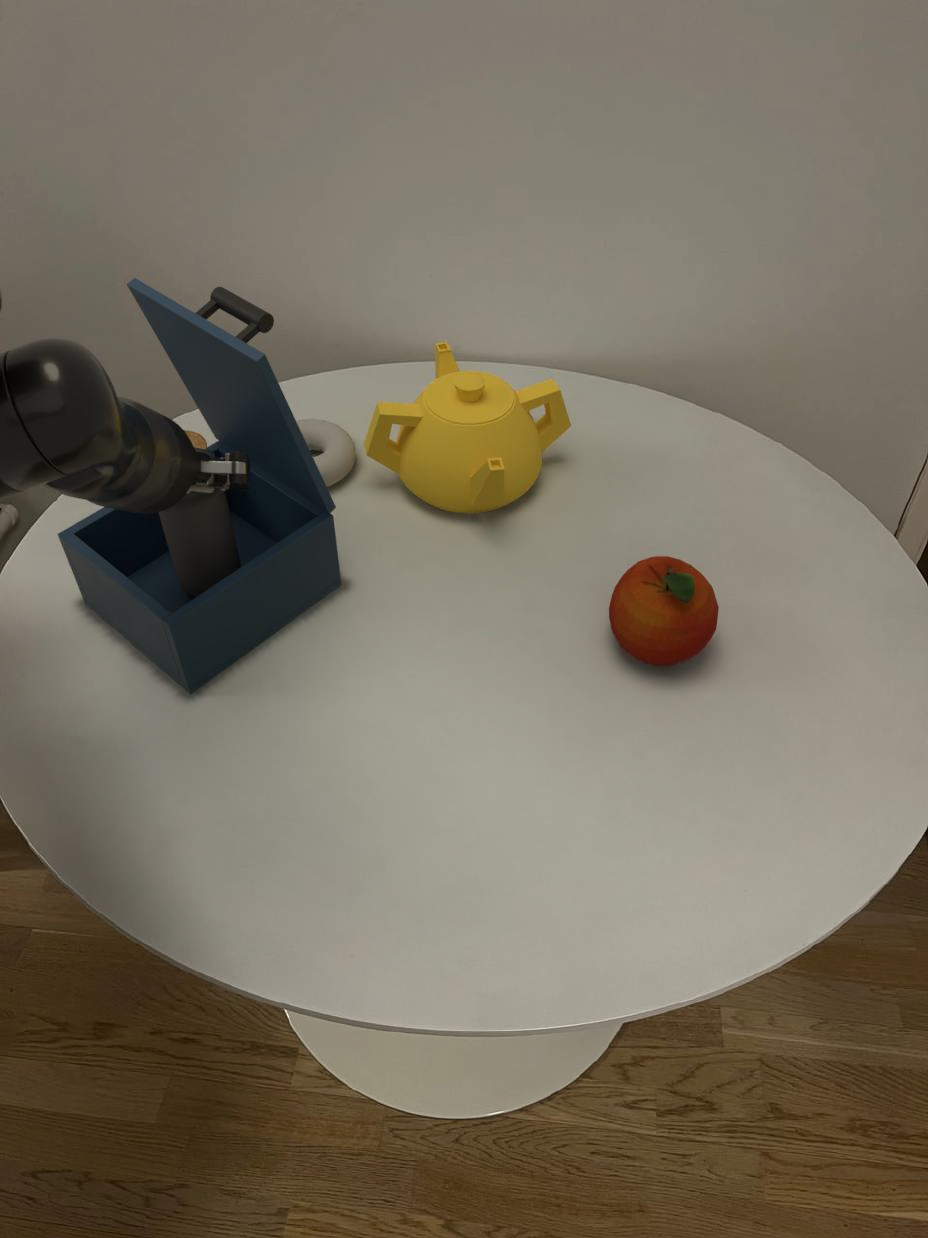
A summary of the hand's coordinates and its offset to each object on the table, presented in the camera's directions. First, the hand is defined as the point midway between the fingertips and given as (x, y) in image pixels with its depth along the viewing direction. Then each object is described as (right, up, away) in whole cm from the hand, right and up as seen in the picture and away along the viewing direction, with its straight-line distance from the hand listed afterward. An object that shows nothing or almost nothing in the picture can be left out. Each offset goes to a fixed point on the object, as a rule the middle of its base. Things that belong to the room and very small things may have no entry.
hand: (192, 478), depth 87 cm
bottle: (0, -8, +7) cm, 11 cm away
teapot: (+24, +3, +21) cm, 32 cm away
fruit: (+41, -14, +5) cm, 44 cm away
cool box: (0, -10, +9) cm, 13 cm away
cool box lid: (+4, +6, -2) cm, 8 cm away
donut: (+7, +4, +22) cm, 23 cm away
